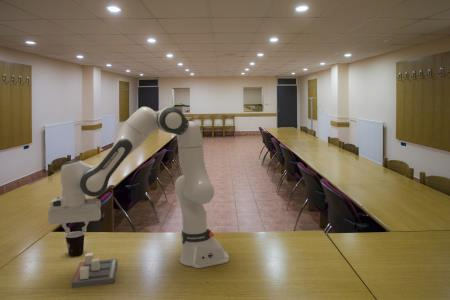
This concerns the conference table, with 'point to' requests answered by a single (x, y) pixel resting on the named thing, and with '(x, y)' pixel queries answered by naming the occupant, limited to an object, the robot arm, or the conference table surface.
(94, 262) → the block
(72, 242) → the coffee mug
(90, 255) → the block
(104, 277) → the panel
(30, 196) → the conference table surface
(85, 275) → the block
